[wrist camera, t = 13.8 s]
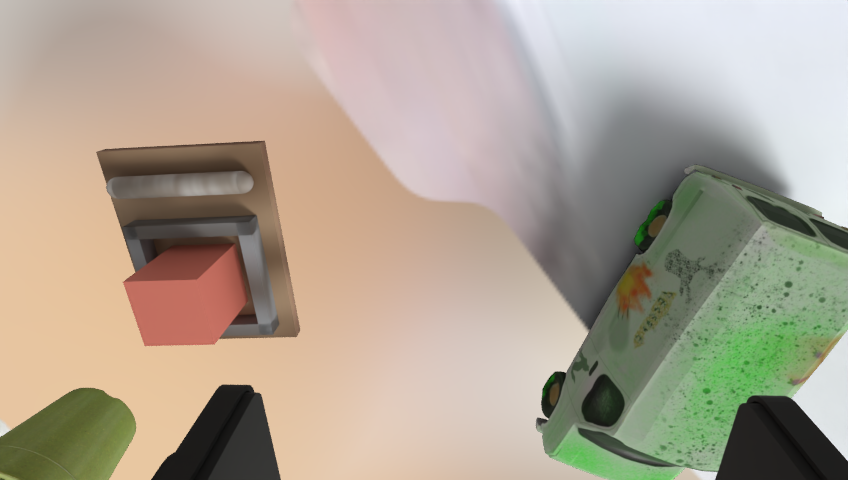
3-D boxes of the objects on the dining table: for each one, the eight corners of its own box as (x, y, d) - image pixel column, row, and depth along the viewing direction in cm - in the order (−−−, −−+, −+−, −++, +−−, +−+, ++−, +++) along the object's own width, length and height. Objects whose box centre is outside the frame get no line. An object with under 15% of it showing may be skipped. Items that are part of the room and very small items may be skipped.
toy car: (527, 409, 42) (549, 511, 33) (674, 152, 33) (762, 195, 24) (634, 443, 43) (684, 551, 34) (806, 203, 34) (939, 263, 25)
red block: (172, 245, 36) (123, 281, 31) (235, 243, 36) (196, 279, 31) (188, 302, 38) (144, 345, 33) (248, 300, 38) (214, 344, 32)
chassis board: (105, 149, 35) (80, 157, 32) (264, 140, 34) (250, 148, 32) (164, 333, 41) (146, 351, 38) (300, 330, 40) (290, 348, 38)
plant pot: (91, 343, 42) (-27, 443, 31) (186, 431, 45) (108, 547, 35) (9, 399, 45) (-123, 507, 34) (105, 478, 48) (10, 597, 38)
